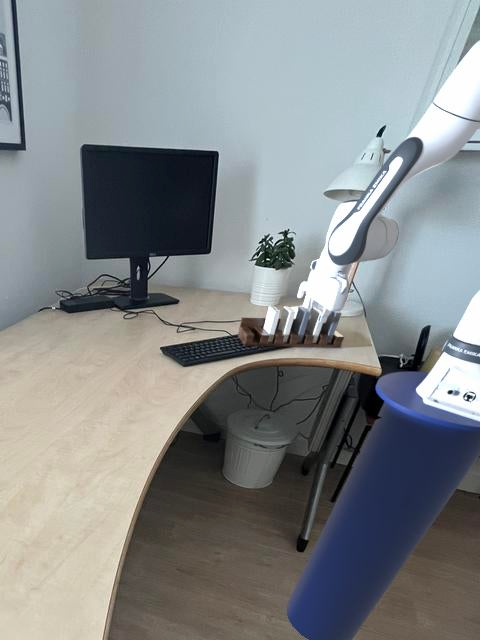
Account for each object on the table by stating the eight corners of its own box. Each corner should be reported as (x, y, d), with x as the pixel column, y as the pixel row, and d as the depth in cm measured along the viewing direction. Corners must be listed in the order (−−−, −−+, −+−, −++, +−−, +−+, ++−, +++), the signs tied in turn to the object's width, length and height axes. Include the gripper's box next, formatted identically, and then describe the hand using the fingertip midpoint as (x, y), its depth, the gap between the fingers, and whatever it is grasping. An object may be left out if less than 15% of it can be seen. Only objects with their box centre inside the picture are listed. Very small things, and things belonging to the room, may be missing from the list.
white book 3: (316, 343, 135) (326, 312, 129) (311, 342, 135) (321, 312, 129) (309, 336, 140) (318, 306, 134) (304, 336, 140) (313, 306, 134)
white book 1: (272, 342, 135) (280, 311, 129) (267, 342, 135) (275, 311, 129) (266, 335, 140) (274, 305, 134) (261, 335, 140) (269, 305, 134)
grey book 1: (301, 342, 135) (311, 312, 129) (296, 342, 135) (305, 311, 129) (294, 336, 140) (303, 306, 134) (289, 336, 140) (298, 306, 134)
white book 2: (286, 342, 135) (295, 311, 129) (281, 342, 135) (290, 311, 129) (280, 336, 140) (289, 306, 134) (275, 335, 140) (284, 306, 134)
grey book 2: (330, 343, 135) (341, 312, 129) (325, 343, 135) (336, 312, 129) (323, 336, 140) (333, 307, 134) (318, 336, 140) (328, 307, 134)
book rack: (340, 347, 134) (347, 328, 131) (244, 345, 134) (249, 326, 131) (328, 338, 141) (335, 319, 138) (237, 336, 141) (241, 317, 137)
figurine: (298, 314, 162) (312, 269, 152) (320, 320, 156) (335, 274, 146) (285, 316, 159) (298, 270, 149) (307, 323, 153) (322, 276, 143)
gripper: (361, 276, 116) (341, 329, 125) (330, 261, 132) (314, 309, 141) (337, 275, 116) (319, 329, 125) (309, 260, 132) (295, 309, 141)
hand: (316, 318), depth 133 cm, fingers closed on white book 3, 6 cm apart
